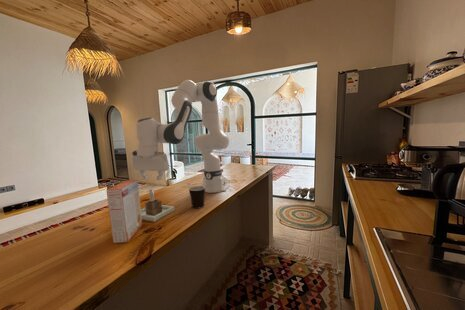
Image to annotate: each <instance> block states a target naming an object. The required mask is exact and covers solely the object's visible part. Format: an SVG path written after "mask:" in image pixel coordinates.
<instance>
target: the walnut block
mask: <svg viewBox="0 0 465 310" xmlns="http://www.w3.org/2000/svg"><path fill="white" fill-rule="evenodd" d="M162 205H163V203H162V200H161V199H156V198H155V202H154V203H151V202H150V200H148V201H146V202H144V208H145V209H146V214H147V215H153V216H155V215H157V214H159V213H160V212H162Z"/></svg>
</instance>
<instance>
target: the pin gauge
mask: <svg viewBox="0 0 465 310" xmlns="http://www.w3.org/2000/svg"><path fill="white" fill-rule="evenodd" d="M148 192H149V201H150V202H151V203H154V202H155V199H156V198H155V192H154V189H149V190H148Z"/></svg>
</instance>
